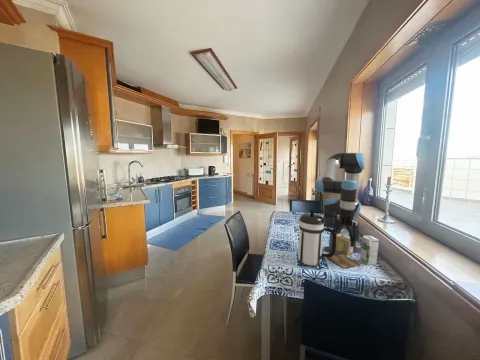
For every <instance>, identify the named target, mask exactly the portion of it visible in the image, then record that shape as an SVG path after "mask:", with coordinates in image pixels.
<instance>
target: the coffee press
mask: <svg viewBox="0 0 480 360" xmlns="http://www.w3.org/2000/svg"><path fill="white" fill-rule="evenodd" d="M324 223H325V220H324V219H323V216H322V215H320V214H317V213H316V212H315V210H314V209H311V210H310V211H309V212H306V213H303V214H301V216H300V217H299V219H298V220H297V221H296V224H299V227H298V228H299V234H298V235H299V236H298V253H297V255H298V256H297V257H298V260H299V263H298V264H297V265H298V266H299V267H303V265H307V266H315V267H316V268H317V270H321V269H322V267H321V262H322V259H323V258H327V257H332V256H335V255H334V254H335V250H336V234H335V232H334V230H333V228H329V227H325V226H324ZM324 231H325V232H329V233H332V236H333V239H332V250H331V252H328V253H323V243H324V242H323V239H324V237H323V236H324Z"/></svg>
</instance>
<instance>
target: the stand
mask: <svg viewBox="0 0 480 360" xmlns="http://www.w3.org/2000/svg"><path fill="white" fill-rule="evenodd" d="M335 234H336V233H335ZM339 234H341V235H342V236H344V237H346V236H349V232H348V230H341V233H339ZM332 239H333V236H332V233H331V232H329V240H328V241H329V242H328V245H327V246H324V247H323V250H325V251H327V252H328V253H330V252H331V250H332ZM344 245H345V244H344ZM359 252H360V253H361V248H359V247H357V241H355V246H354V247H353V254H355V253H359ZM340 254H343V255H344V250H342V251H337V250H335V254H334V255H333V256H335V255H340Z"/></svg>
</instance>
